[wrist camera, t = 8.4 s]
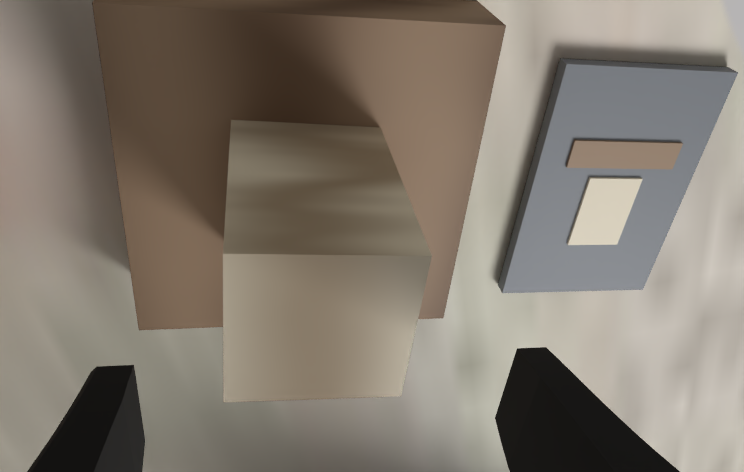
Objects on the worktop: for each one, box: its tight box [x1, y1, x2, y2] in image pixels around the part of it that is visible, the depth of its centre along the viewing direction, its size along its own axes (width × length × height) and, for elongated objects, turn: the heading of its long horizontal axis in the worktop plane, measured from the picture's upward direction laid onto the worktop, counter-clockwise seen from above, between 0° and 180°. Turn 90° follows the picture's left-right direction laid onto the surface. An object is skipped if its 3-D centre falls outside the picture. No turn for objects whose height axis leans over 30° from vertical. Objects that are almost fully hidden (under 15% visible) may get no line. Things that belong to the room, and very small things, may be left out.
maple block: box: [223, 120, 432, 402], centre depth 16 cm, size 4×4×6 cm
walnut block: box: [92, 0, 506, 330], centre depth 19 cm, size 10×10×3 cm
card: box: [498, 59, 738, 293], centre depth 22 cm, size 6×9×1 cm, turn 174°
